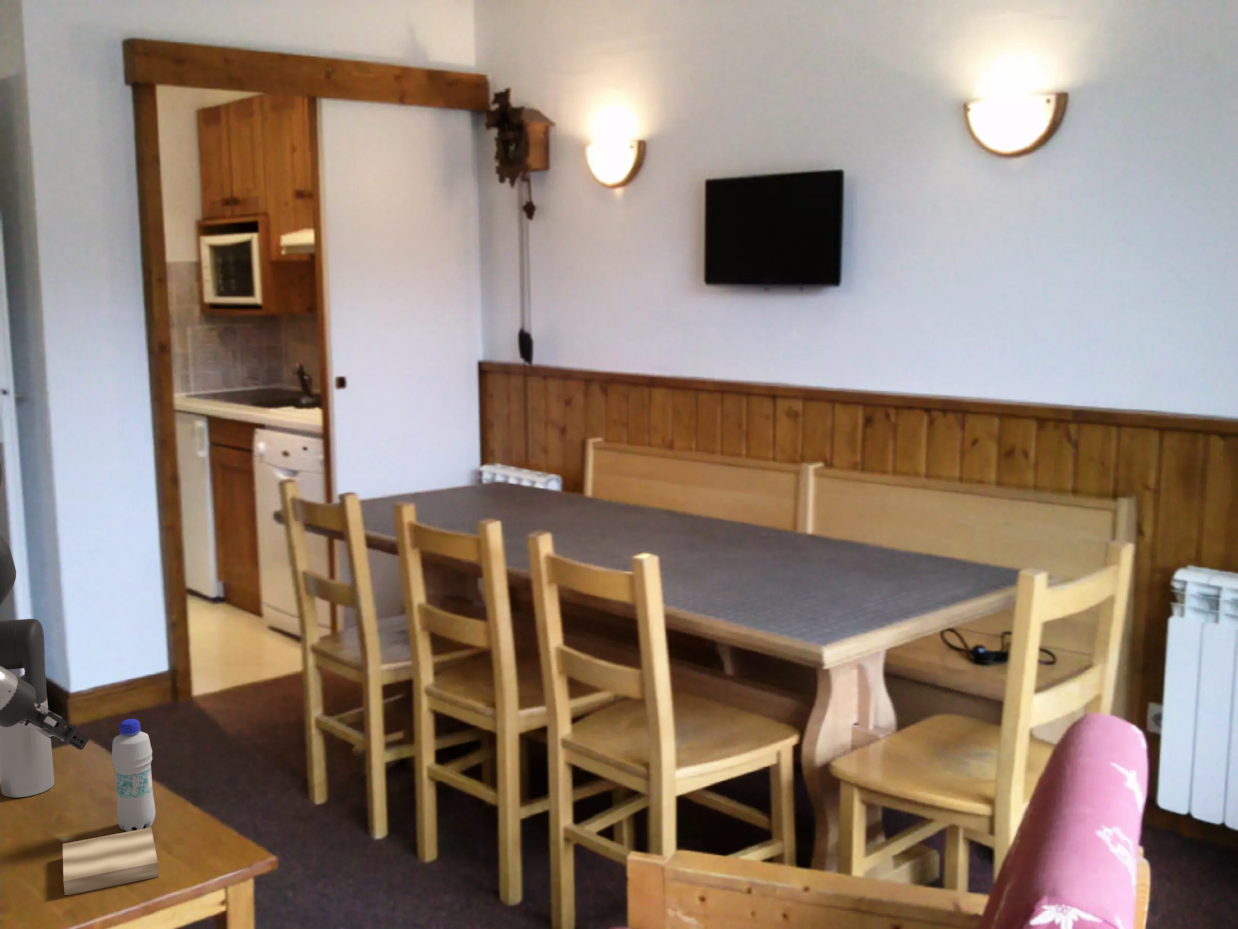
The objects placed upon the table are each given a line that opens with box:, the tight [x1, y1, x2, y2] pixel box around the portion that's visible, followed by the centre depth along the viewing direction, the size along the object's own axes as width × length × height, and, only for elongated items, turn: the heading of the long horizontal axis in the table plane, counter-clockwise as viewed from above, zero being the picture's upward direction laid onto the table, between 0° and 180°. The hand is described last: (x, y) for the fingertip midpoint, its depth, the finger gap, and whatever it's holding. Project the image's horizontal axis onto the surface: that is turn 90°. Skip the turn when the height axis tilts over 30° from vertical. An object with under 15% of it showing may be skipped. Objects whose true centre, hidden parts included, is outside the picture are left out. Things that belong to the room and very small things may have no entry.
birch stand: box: [62, 827, 160, 896], centre depth 200 cm, size 14×14×2 cm
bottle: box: [110, 718, 156, 832], centre depth 213 cm, size 7×7×20 cm
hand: (70, 739), depth 202 cm, fingers open, 8 cm apart
